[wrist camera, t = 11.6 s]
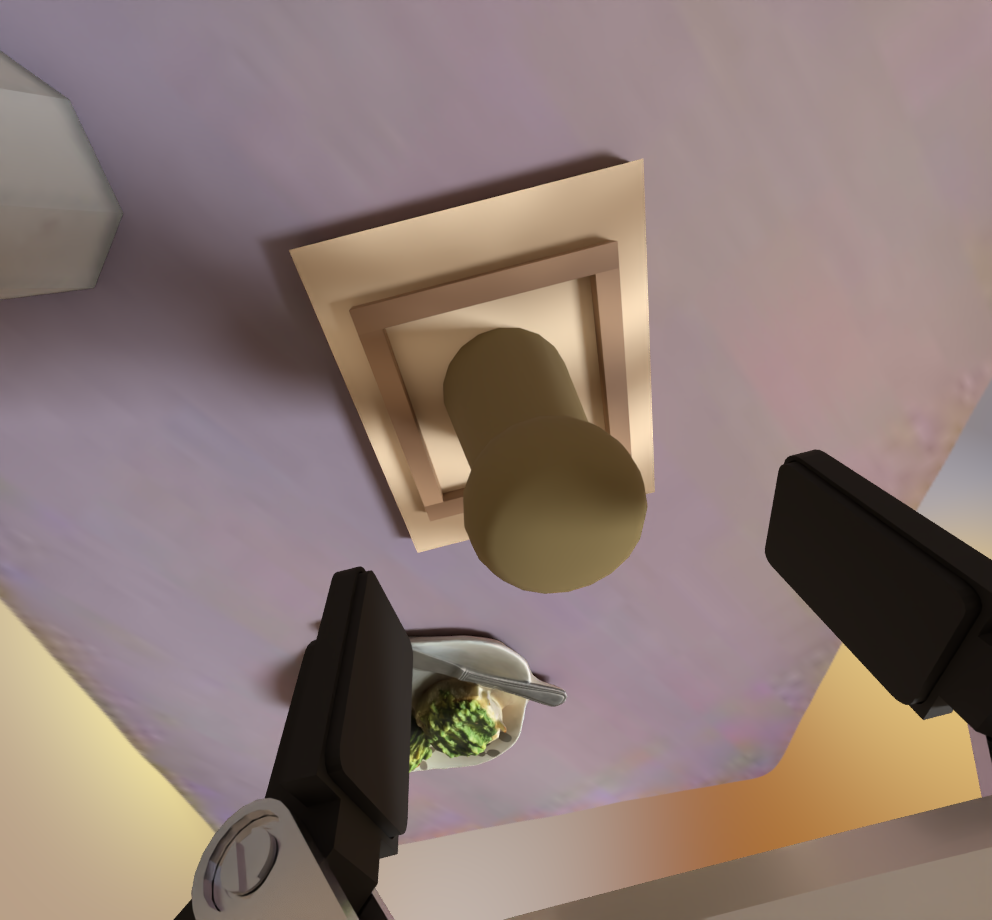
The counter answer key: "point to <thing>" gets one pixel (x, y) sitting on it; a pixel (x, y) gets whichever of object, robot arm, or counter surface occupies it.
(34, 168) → the coffee maker
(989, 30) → the counter surface
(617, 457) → the cork
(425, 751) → the salad plate
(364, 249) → the maple board
